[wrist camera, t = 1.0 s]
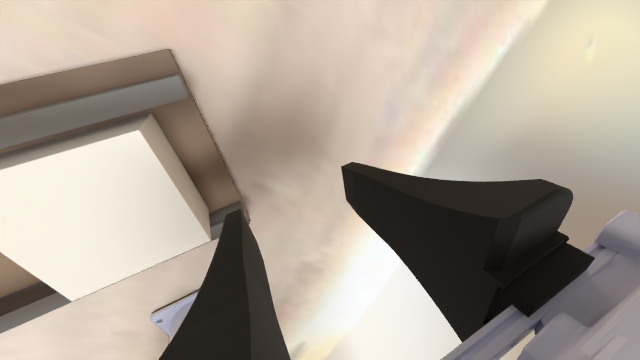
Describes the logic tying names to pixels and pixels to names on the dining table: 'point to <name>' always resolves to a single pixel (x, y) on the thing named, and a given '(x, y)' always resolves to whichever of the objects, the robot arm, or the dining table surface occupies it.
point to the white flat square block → (98, 206)
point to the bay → (99, 110)
